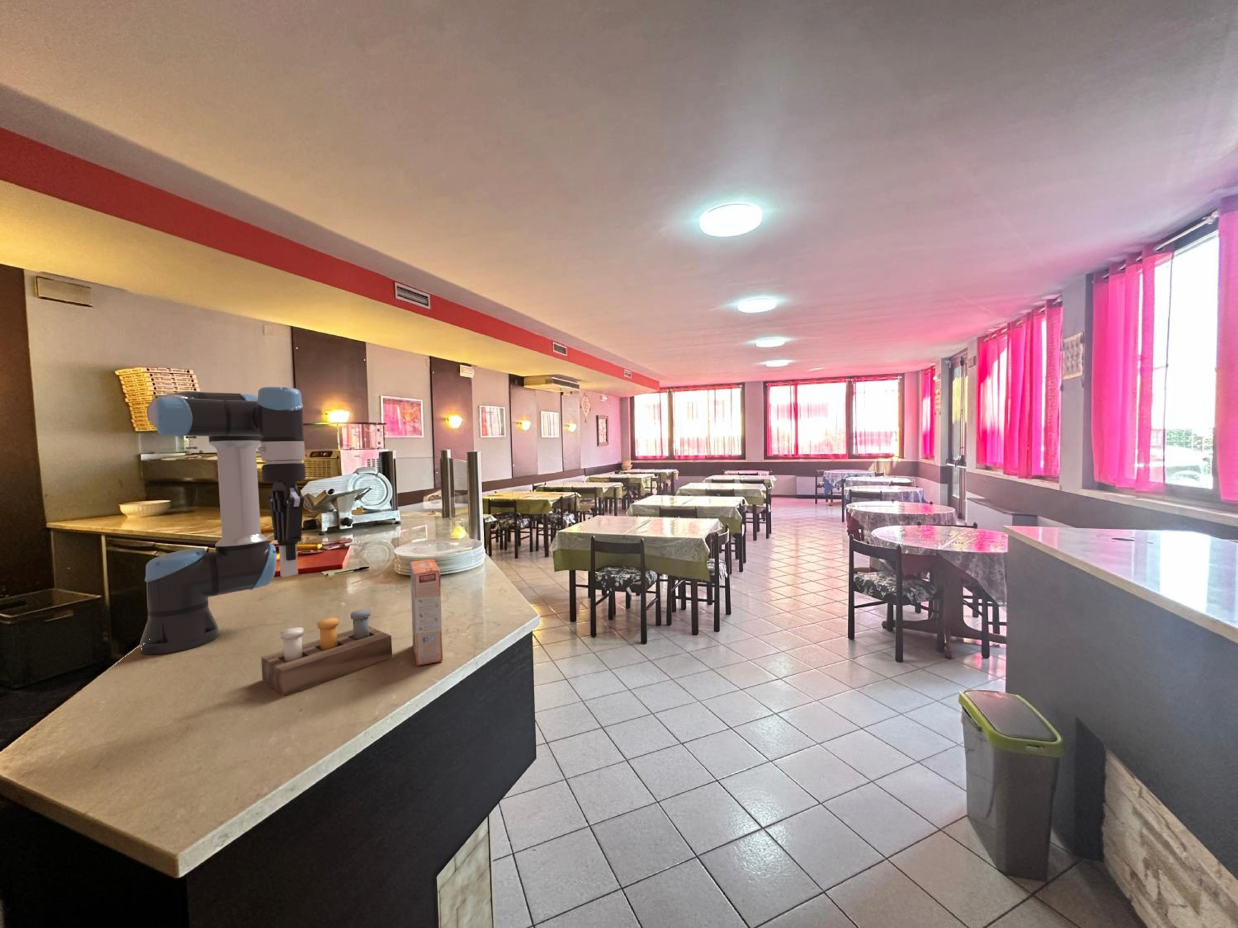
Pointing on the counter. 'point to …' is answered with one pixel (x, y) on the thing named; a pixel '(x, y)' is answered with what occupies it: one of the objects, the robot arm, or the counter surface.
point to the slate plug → (360, 624)
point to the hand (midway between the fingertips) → (289, 575)
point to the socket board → (325, 661)
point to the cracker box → (426, 611)
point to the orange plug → (328, 633)
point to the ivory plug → (292, 644)
